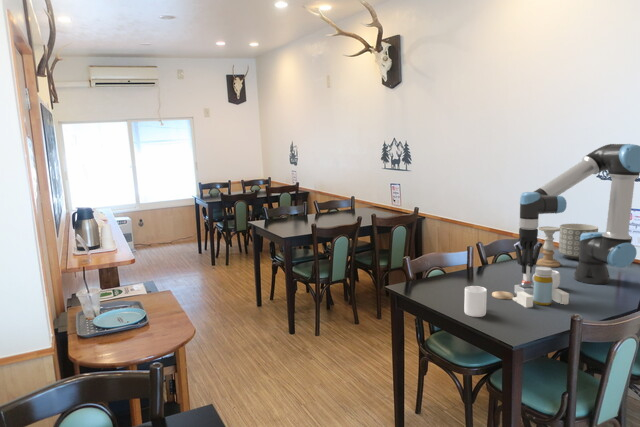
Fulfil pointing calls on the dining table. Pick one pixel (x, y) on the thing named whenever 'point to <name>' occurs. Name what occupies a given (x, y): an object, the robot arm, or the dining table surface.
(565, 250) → the planter
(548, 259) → the candle holder
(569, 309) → the dining table surface
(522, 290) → the housing
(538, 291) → the bottle
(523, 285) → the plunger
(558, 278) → the mug
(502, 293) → the pad
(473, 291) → the cup
